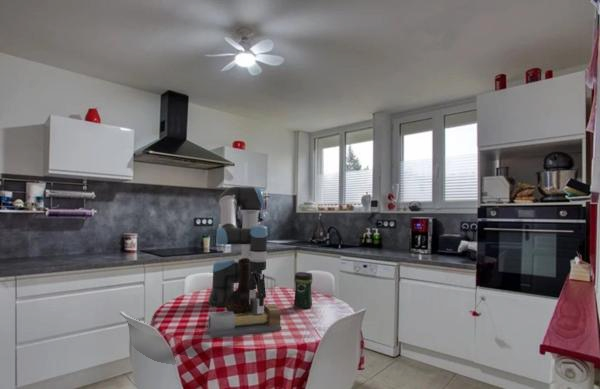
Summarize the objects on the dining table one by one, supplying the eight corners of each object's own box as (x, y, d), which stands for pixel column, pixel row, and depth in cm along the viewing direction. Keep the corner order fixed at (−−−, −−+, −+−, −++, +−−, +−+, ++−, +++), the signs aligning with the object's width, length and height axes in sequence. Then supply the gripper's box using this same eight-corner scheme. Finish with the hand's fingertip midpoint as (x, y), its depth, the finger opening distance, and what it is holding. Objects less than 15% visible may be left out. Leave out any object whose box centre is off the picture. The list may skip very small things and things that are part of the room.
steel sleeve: (208, 327, 145) (209, 312, 146) (231, 324, 149) (232, 310, 149) (210, 332, 140) (210, 317, 140) (234, 329, 144) (235, 315, 144)
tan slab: (226, 322, 148) (226, 300, 149) (271, 318, 156) (272, 296, 157) (228, 327, 143) (229, 303, 143) (276, 322, 151) (276, 300, 151)
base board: (207, 328, 148) (207, 324, 148) (272, 321, 160) (273, 318, 160) (211, 338, 137) (211, 334, 137) (281, 330, 148) (281, 326, 149)
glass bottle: (268, 313, 172) (270, 257, 173) (251, 324, 155) (253, 262, 156) (237, 308, 178) (239, 255, 179) (218, 318, 161) (220, 259, 162)
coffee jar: (313, 305, 187) (314, 272, 188) (308, 309, 180) (309, 274, 180) (297, 303, 190) (298, 270, 191) (291, 307, 183) (292, 272, 184)
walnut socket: (263, 320, 156) (264, 304, 157) (274, 319, 158) (274, 303, 159) (269, 326, 148) (270, 310, 148) (280, 325, 150) (280, 309, 150)
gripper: (243, 256, 161) (241, 301, 161) (257, 265, 138) (255, 318, 138) (258, 255, 164) (256, 300, 164) (274, 265, 141) (272, 316, 141)
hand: (256, 308), depth 151 cm, fingers open, 13 cm apart
